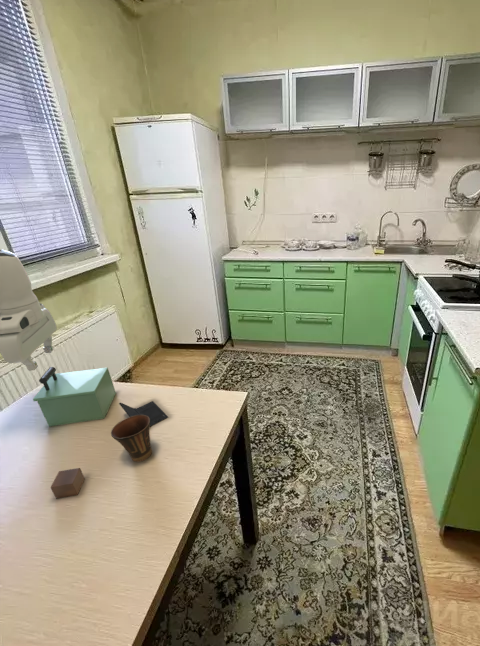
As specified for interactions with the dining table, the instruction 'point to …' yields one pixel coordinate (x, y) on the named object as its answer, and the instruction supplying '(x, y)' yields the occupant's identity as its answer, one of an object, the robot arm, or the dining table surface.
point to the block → (67, 483)
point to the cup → (134, 436)
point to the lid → (69, 383)
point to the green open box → (79, 405)
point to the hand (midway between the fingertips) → (41, 360)
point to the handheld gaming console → (146, 412)
